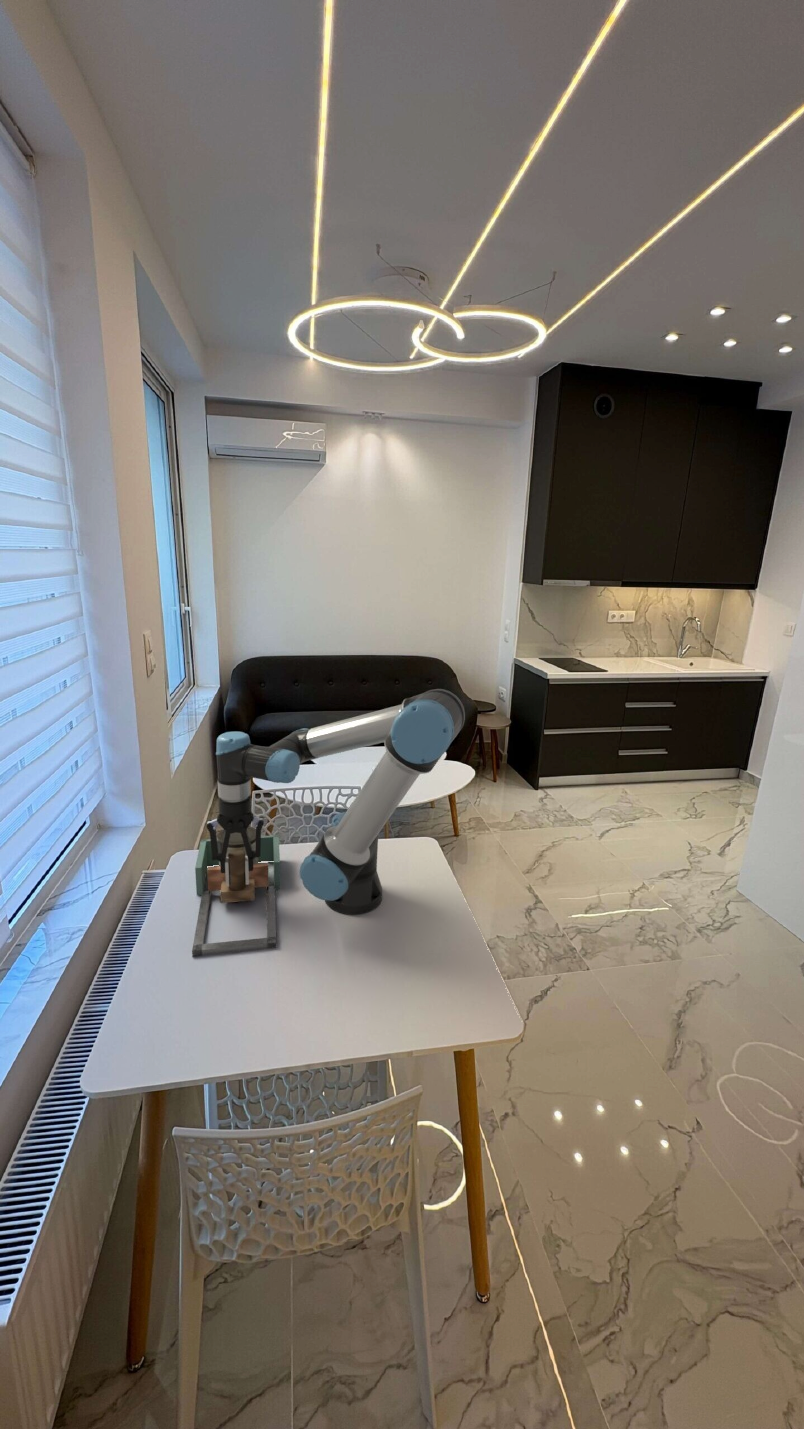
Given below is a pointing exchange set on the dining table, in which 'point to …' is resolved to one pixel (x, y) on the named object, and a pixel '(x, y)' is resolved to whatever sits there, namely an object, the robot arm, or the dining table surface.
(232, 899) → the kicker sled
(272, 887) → the track
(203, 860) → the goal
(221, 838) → the coffee can
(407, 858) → the dining table surface
